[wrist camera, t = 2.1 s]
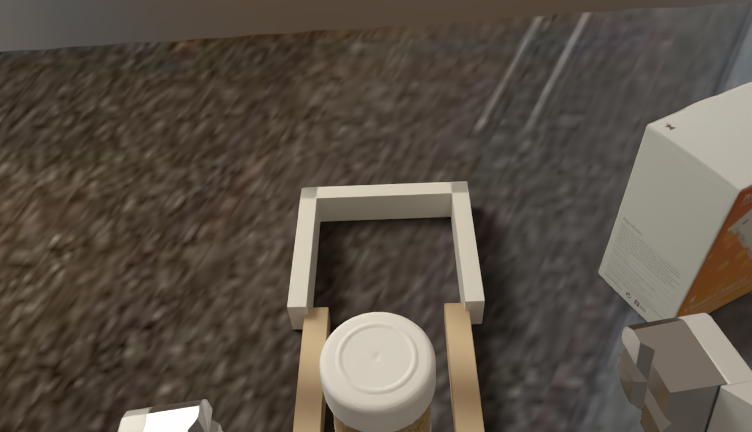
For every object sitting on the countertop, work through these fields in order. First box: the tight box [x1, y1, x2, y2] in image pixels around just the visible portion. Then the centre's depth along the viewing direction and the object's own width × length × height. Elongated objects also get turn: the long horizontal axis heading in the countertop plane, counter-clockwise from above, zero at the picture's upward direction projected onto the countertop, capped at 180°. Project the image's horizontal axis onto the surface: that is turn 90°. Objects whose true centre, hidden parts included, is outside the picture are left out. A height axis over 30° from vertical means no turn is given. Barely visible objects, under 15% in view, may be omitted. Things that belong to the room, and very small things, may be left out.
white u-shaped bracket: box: [287, 181, 485, 330], centre depth 44 cm, size 11×12×2 cm
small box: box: [599, 82, 752, 322], centre depth 37 cm, size 8×6×13 cm
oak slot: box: [293, 303, 484, 432], centre depth 36 cm, size 14×10×2 cm
